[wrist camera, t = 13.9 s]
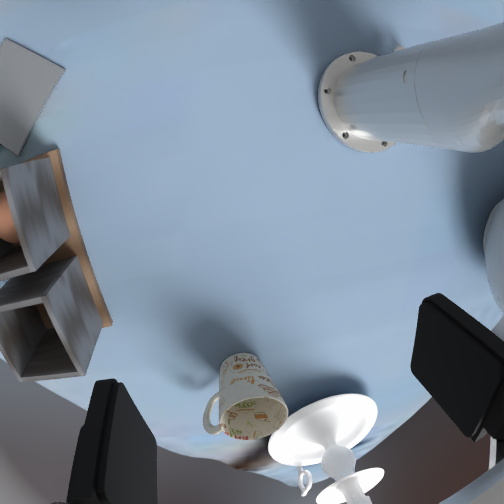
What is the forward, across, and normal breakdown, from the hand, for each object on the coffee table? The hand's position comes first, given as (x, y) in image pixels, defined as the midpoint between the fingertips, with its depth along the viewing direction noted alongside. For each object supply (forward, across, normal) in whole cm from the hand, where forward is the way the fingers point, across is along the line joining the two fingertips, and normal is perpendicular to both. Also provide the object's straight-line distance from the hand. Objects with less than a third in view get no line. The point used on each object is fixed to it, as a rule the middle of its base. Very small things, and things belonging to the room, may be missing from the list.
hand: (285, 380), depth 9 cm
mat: (+28, +21, -18) cm, 40 cm away
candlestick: (+29, -9, +44) cm, 54 cm away
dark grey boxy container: (+28, +21, +1) cm, 35 cm away
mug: (+28, +3, +26) cm, 38 cm away
